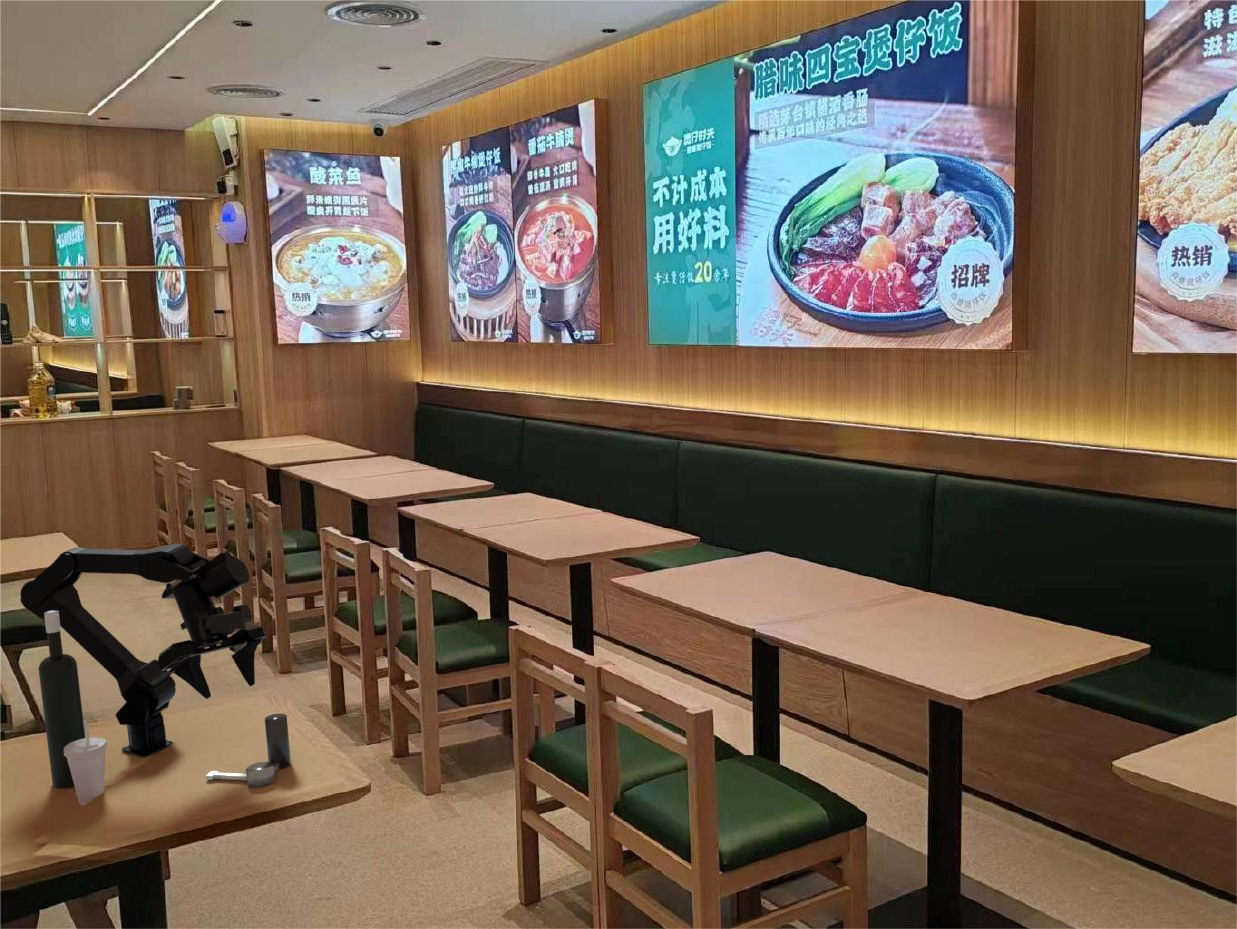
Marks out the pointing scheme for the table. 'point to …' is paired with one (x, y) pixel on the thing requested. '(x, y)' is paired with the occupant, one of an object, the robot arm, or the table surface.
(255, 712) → the table surface
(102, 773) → the smoothie
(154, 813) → the table surface
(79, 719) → the wine bottle
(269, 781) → the dial
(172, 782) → the table surface
